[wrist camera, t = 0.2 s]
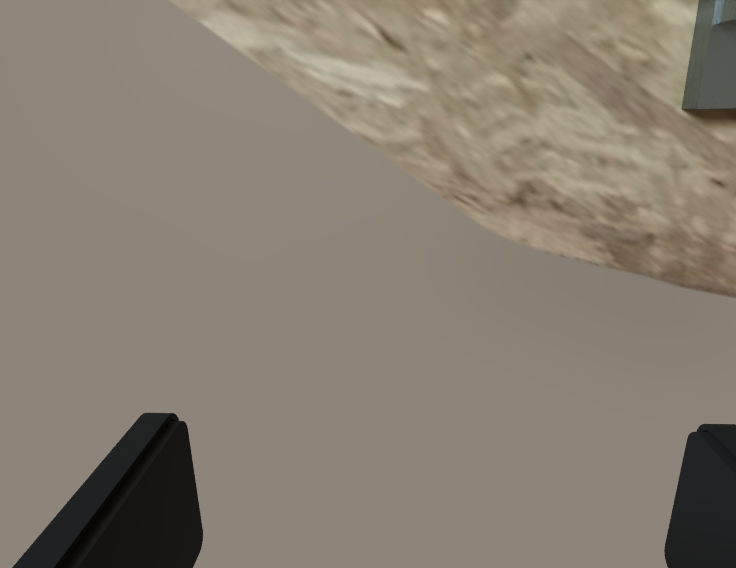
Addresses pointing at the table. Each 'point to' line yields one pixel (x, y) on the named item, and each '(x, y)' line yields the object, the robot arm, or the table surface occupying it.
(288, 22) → the table surface
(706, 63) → the scale
